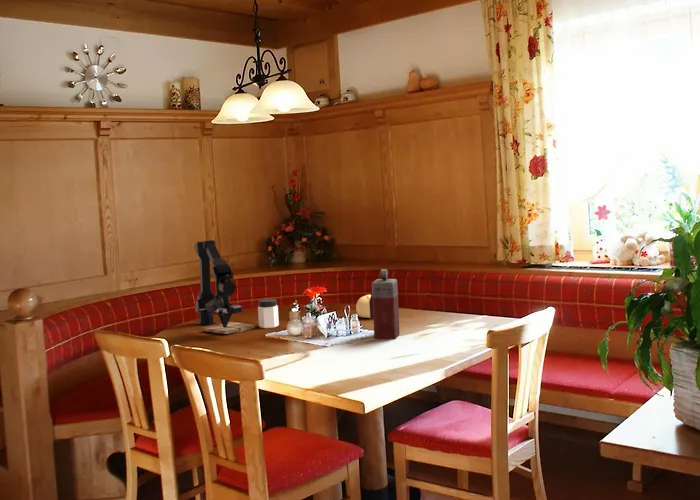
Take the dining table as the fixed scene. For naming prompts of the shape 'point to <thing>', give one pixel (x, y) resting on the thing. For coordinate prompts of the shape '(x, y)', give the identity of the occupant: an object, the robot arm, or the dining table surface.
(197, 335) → the dining table surface
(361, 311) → the sculpture
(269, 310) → the jar
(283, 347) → the dining table surface
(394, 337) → the red grey rectangular bottle
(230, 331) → the plank
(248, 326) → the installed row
